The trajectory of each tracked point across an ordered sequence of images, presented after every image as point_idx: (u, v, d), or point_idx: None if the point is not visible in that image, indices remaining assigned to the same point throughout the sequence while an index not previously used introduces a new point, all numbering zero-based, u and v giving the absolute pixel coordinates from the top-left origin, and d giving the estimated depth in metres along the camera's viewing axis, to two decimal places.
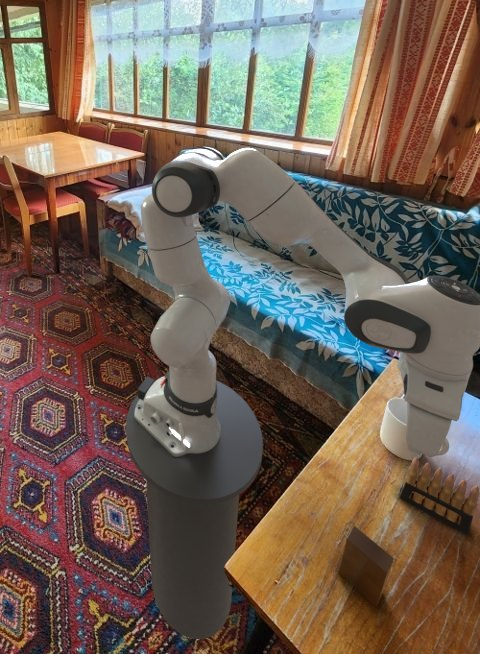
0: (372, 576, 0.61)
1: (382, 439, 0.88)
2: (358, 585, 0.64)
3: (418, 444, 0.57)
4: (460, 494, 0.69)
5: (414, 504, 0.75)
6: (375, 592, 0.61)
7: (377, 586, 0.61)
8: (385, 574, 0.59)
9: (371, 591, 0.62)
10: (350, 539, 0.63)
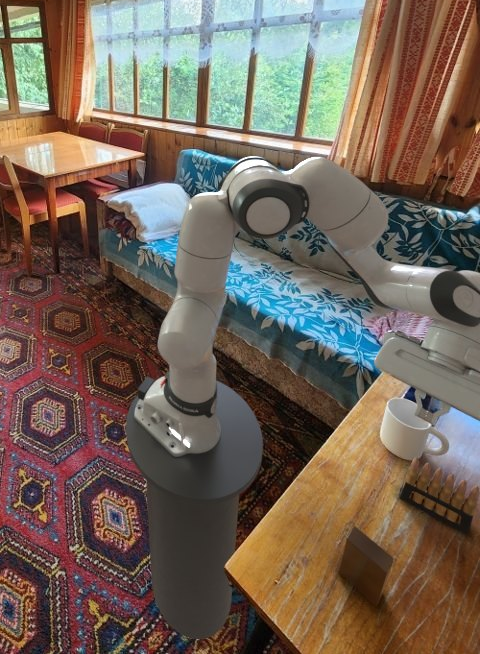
0: (372, 576, 0.61)
1: (382, 439, 0.88)
2: (358, 585, 0.64)
3: None
4: (460, 494, 0.69)
5: (414, 504, 0.75)
6: (375, 592, 0.61)
7: (377, 586, 0.61)
8: (385, 574, 0.59)
9: (371, 591, 0.62)
10: (350, 539, 0.63)
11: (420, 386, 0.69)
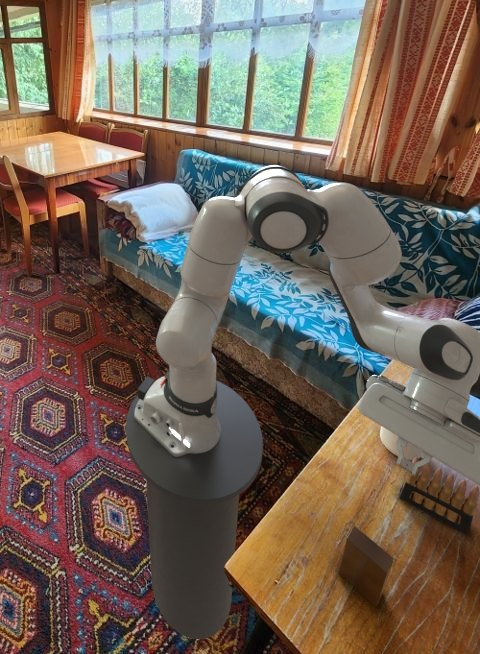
0: (372, 576, 0.61)
1: (382, 439, 0.88)
2: (358, 585, 0.64)
3: None
4: (460, 494, 0.69)
5: (414, 504, 0.75)
6: (375, 592, 0.61)
7: (377, 586, 0.61)
8: (385, 574, 0.59)
9: (371, 591, 0.62)
10: (350, 539, 0.63)
11: (402, 435, 0.70)
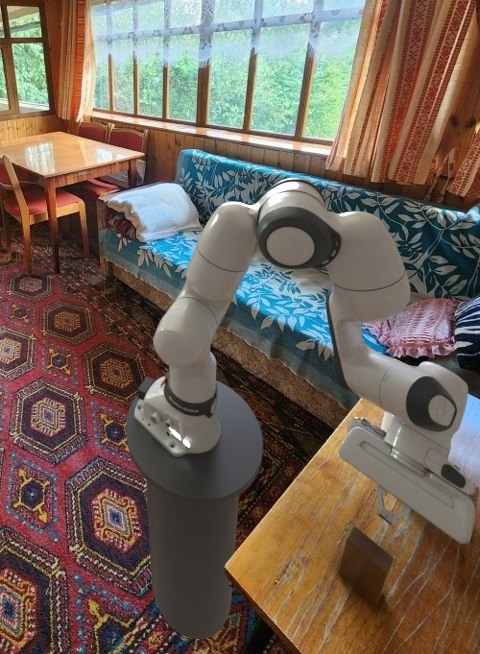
0: (372, 576, 0.61)
1: None
2: (358, 585, 0.64)
3: None
4: None
5: None
6: (375, 592, 0.61)
7: (377, 586, 0.61)
8: (385, 574, 0.59)
9: (371, 591, 0.62)
10: (350, 539, 0.63)
11: (382, 484, 0.68)
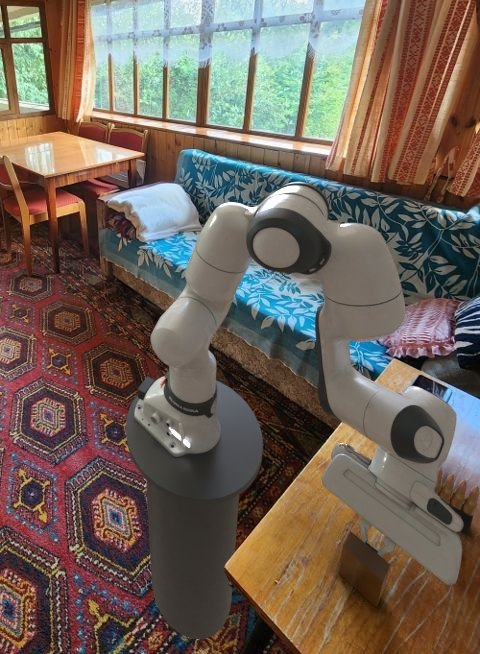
0: (369, 581, 0.60)
1: None
2: (358, 587, 0.64)
3: None
4: (460, 494, 0.69)
5: None
6: (374, 595, 0.61)
7: (375, 590, 0.60)
8: (381, 582, 0.58)
9: (370, 593, 0.62)
10: (346, 546, 0.62)
11: (365, 517, 0.65)
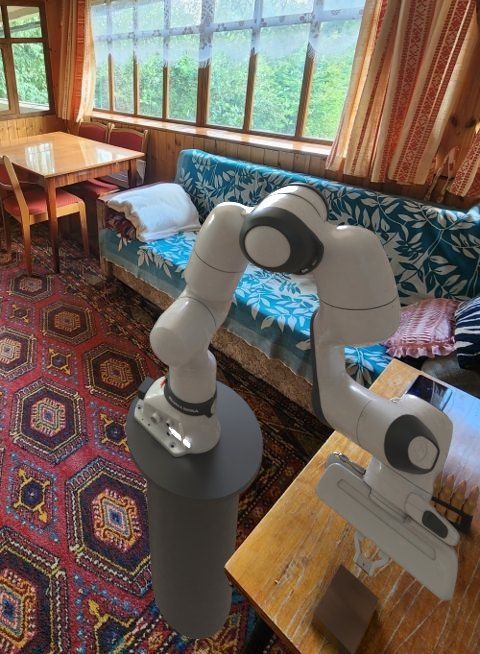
0: None
1: None
2: None
3: None
4: (460, 494, 0.69)
5: None
6: None
7: None
8: None
9: None
10: (314, 624, 0.60)
11: (359, 529, 0.63)
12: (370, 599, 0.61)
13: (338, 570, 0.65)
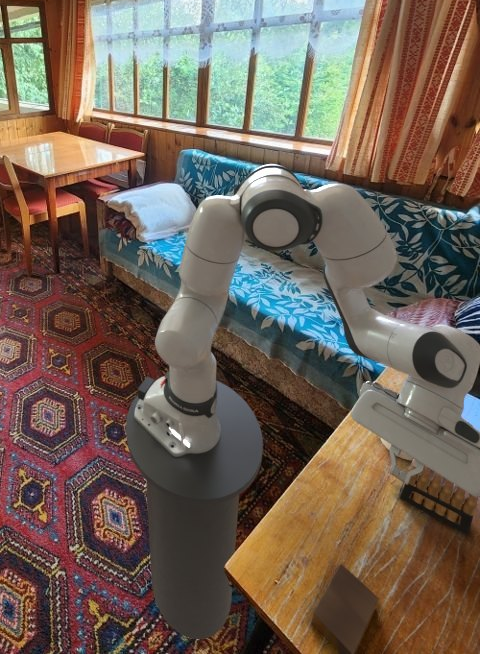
0: None
1: (382, 439, 0.88)
2: None
3: None
4: (460, 494, 0.69)
5: (414, 504, 0.75)
6: None
7: None
8: None
9: None
10: (314, 624, 0.60)
11: (395, 443, 0.69)
12: (370, 599, 0.61)
13: (338, 570, 0.65)
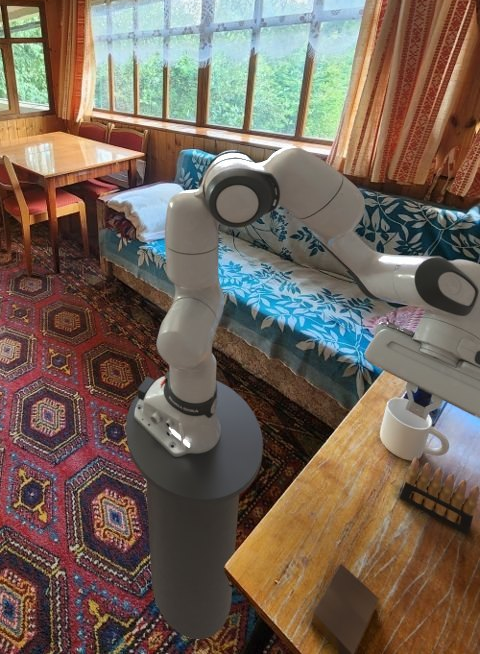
0: None
1: (382, 439, 0.88)
2: None
3: None
4: (460, 494, 0.69)
5: (414, 504, 0.75)
6: None
7: None
8: None
9: None
10: (314, 624, 0.60)
11: (411, 379, 0.67)
12: (370, 599, 0.61)
13: (338, 570, 0.65)
